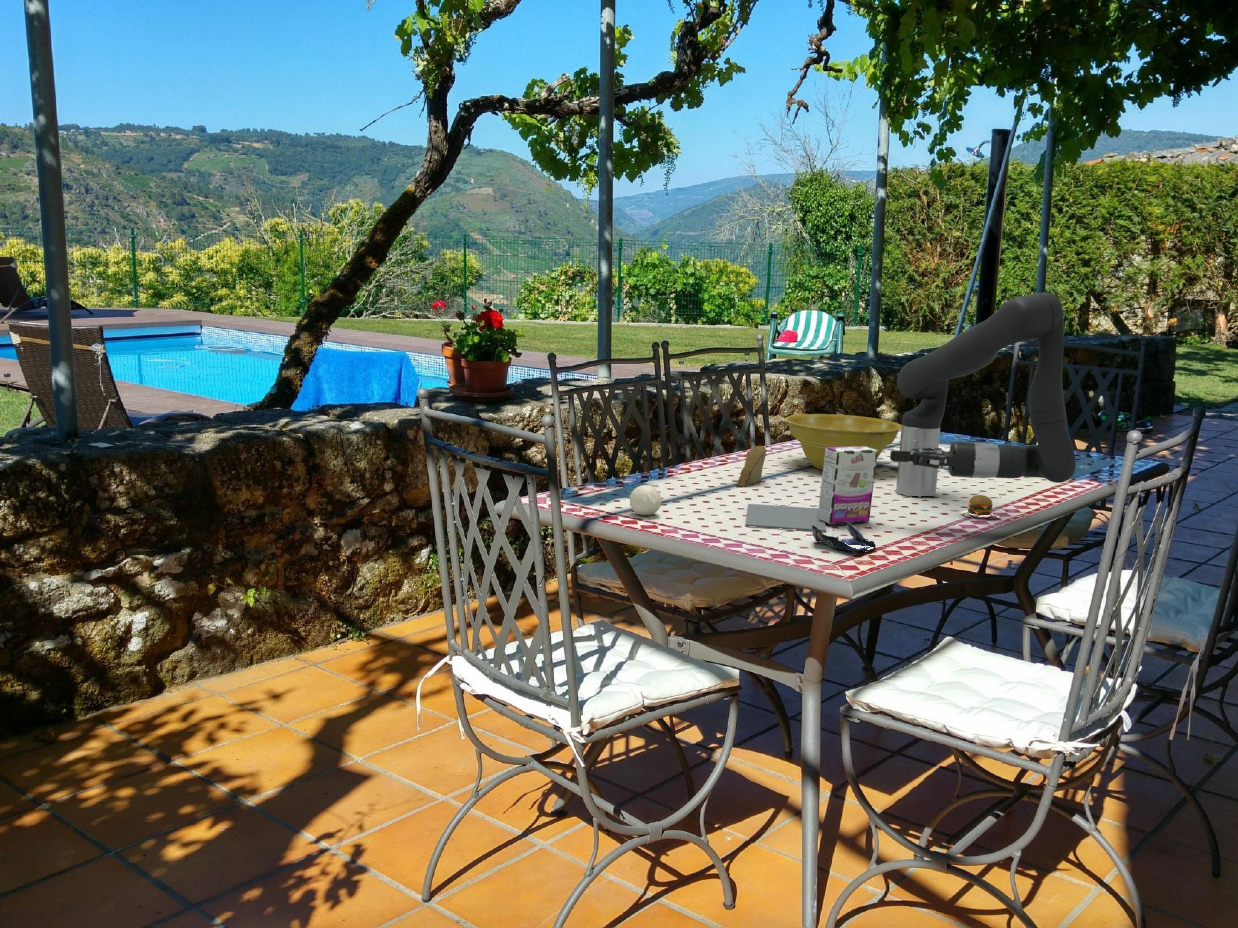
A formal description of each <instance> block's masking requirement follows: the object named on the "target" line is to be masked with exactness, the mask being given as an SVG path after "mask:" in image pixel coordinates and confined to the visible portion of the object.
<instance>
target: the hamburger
mask: <svg viewBox="0 0 1238 928" xmlns="http://www.w3.org/2000/svg"><path fill="white" fill-rule="evenodd" d="M967 506H968V507H967V509H966V510H968V512H969V513H971V514H977V515H990V514H991V513H992V512H993V501H992V499H991V498H990V497H989V496H987V495H983V494H978V495H977V494H976V495H972V497H970V498H969V501H968V505H967ZM969 513H968V514H969ZM992 514H993V513H992Z"/></svg>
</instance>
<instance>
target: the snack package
mask: <svg viewBox="0 0 1238 928" xmlns="http://www.w3.org/2000/svg"><path fill="white" fill-rule="evenodd" d="M842 522H843V521H842ZM845 523H846V524H845V525H846V527H847V530H848V532H849V535H850V536H851V537H852V538H850V537H849V538H845V537H844V538H839V536H833V535H831V536H830V535H827V534H824V533H823V532H820V531H819V530H818V529H817V527H815V526H812V530H813V531H811V532H812V536H813V539H814V540H815V542H816V541H821V542H820V543H822V542H823V544H824V543H825V545H827V546H829V547H831V548H833V549H836V550H844V551H846V550H845V549H849V550H848V551H851V552H852V553H854V554H857V553H858V552H860V551H862V552H863V551H864V552H865V551H871V550H872V551H874V550H875V549H876V547H877V545H876V543H875V542H874V541H873V540H870V541H869V540H866V539H865V538H866V537H864V535H863V533H862V532H860V531H859V529H858V528H856V527H855V525H852V523H849V522H847V520H846V521H845ZM833 525H836V524H835V523H834V524H833ZM832 531H833V532H835V530H834V529H832ZM845 543H846V544H845ZM847 544H848V545H861V546H870V547H874V548H873V549H874V550H873V549H870V550H867V549H868V548H870V547H866V548H865V547H864V548H860V549H856V548H852V547H850V546H848V545H847ZM872 551H871V552H872Z"/></svg>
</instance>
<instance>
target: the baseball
mask: <svg viewBox="0 0 1238 928" xmlns="http://www.w3.org/2000/svg"><path fill="white" fill-rule="evenodd" d="M629 505H630V507H631V509H632V510H633V512H634V513H636V514H637V515H639V514H640V516H643V515H648V516H652V515H654V514H656V513H657V512H658V511H659V510H660V508H661V506H662V496H661V493H660V492H659V491H658V489H657V488H656V487H654V486H652V485H648V484H644V485H643V484H642V485H638V486H637V487H635V488H634V489H633V490H632V492H631V493H630V496H629Z"/></svg>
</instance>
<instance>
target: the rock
mask: <svg viewBox="0 0 1238 928" xmlns="http://www.w3.org/2000/svg"><path fill="white" fill-rule="evenodd" d="M767 450H768V449H767V448H766V447H765V446H764V445H757V446H755V447H753V448H751V449H750V450H749V451H747V452H746V458H745V462H744V466H743V467H742V469H741V472H740V475H739V477H738V480H737V483H736V485H737V486H740V487H748V486H752V485H754V484H757V483H759V482H761V480H762V479H761V478H762V476H763V467H764V464H765V460H766V455H767Z"/></svg>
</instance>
